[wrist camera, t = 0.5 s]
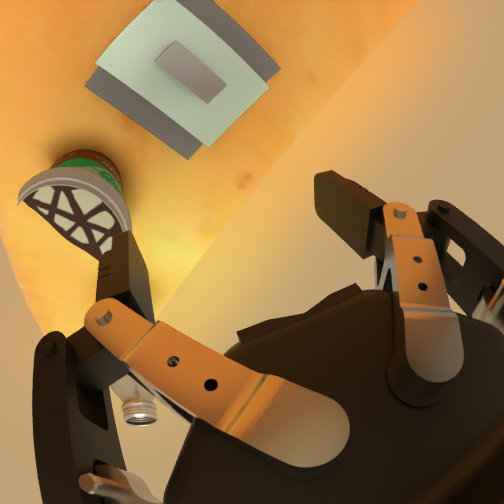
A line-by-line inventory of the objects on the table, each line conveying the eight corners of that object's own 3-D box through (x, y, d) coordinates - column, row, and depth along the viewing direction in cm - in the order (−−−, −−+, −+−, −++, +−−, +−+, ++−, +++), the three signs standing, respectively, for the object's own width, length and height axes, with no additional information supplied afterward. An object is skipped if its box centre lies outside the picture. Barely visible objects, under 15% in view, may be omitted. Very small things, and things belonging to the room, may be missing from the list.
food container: (155, 189, 31) (161, 242, 24) (118, 221, 32) (115, 280, 25) (82, 114, 22) (54, 145, 15) (45, 155, 23) (12, 201, 16)
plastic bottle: (128, 261, 36) (141, 406, 22) (157, 288, 41) (183, 418, 26) (95, 283, 36) (97, 420, 22) (125, 307, 41) (140, 432, 27)
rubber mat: (186, -18, 17) (187, -20, 16) (277, 68, 26) (280, 68, 25) (86, 85, 21) (84, 86, 20) (186, 156, 30) (188, 160, 29)
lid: (163, -7, 17) (166, -19, 13) (267, 86, 26) (286, 94, 23) (96, 62, 19) (86, 64, 16) (207, 145, 29) (217, 161, 25)
